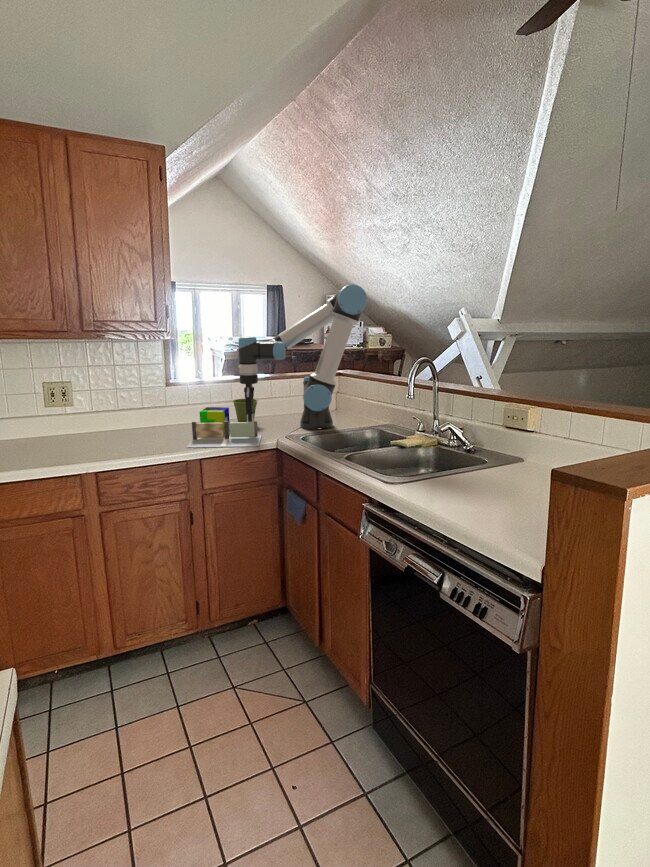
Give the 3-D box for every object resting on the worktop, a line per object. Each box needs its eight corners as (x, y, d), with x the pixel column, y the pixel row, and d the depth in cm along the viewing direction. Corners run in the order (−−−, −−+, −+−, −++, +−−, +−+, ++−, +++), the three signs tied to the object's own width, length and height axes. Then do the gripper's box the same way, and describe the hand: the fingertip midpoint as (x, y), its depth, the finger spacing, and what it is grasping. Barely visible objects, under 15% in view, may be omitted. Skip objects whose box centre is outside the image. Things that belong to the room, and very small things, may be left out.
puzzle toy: (229, 429, 226) (228, 407, 223) (223, 434, 216) (222, 412, 214) (208, 428, 227) (207, 407, 224) (200, 434, 217) (199, 411, 215)
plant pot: (257, 426, 230) (256, 402, 227) (231, 426, 230) (230, 402, 227) (260, 421, 241) (259, 398, 238) (235, 421, 241) (234, 398, 239)
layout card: (261, 435, 214) (261, 434, 214) (258, 446, 197) (258, 445, 197) (195, 436, 213) (195, 435, 213) (186, 447, 195) (186, 447, 195)
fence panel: (257, 436, 209) (257, 421, 208) (257, 436, 208) (257, 421, 206) (230, 436, 209) (230, 421, 207) (230, 437, 207) (229, 422, 206)
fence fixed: (229, 438, 209) (228, 421, 207) (229, 439, 207) (228, 422, 205) (193, 439, 208) (192, 421, 206) (192, 440, 207) (191, 422, 205)
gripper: (241, 372, 217) (243, 425, 223) (237, 376, 204) (240, 432, 210) (258, 372, 217) (260, 424, 223) (256, 375, 205) (258, 431, 210)
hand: (250, 428), depth 217 cm, fingers closed
